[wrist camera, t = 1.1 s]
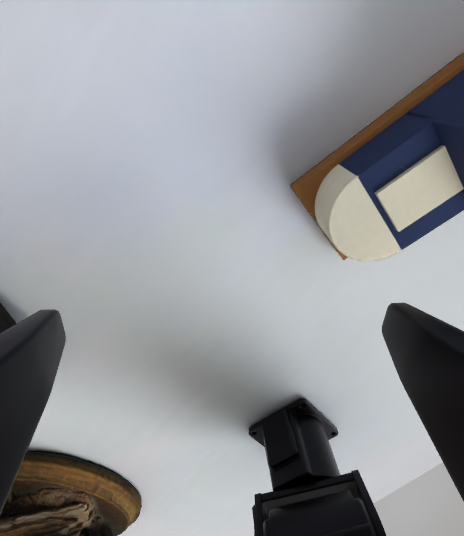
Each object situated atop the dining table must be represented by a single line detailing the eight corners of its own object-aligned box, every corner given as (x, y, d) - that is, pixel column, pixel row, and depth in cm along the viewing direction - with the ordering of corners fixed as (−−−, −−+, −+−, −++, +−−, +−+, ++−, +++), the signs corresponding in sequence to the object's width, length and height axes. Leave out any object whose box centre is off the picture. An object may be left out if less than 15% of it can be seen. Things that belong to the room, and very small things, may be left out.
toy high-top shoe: (527, 3, 18) (679, -30, 12) (553, 106, 21) (689, 117, 15) (289, 185, 22) (321, 225, 16) (337, 252, 24) (379, 307, 19)
